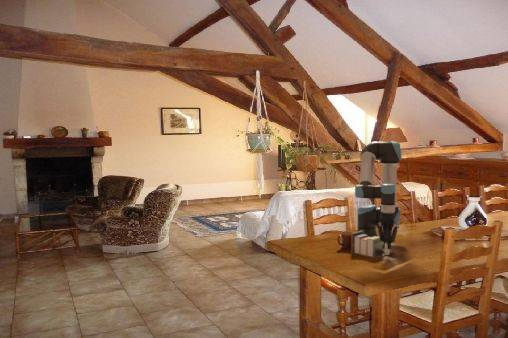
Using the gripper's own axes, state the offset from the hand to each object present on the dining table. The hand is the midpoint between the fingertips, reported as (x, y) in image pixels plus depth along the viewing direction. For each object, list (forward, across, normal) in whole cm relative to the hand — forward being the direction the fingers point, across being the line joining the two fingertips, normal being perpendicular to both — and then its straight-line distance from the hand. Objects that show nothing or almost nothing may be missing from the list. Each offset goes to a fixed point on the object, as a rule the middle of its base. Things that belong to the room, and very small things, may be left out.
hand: (387, 254), depth 254 cm
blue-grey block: (+2, -17, 0) cm, 17 cm away
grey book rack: (+4, -8, +1) cm, 9 cm away
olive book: (+2, -9, 0) cm, 9 cm away
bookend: (+2, -5, 0) cm, 5 cm away
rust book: (+2, -13, 0) cm, 13 cm away
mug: (+4, -30, +2) cm, 30 cm away
